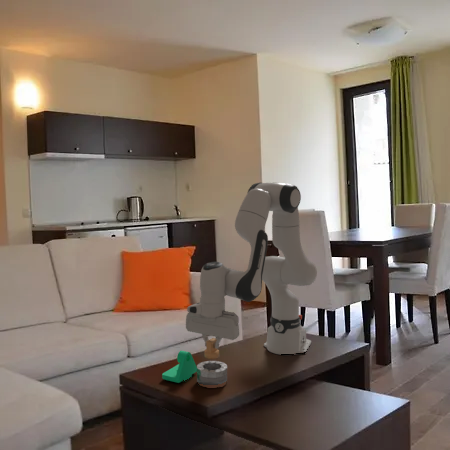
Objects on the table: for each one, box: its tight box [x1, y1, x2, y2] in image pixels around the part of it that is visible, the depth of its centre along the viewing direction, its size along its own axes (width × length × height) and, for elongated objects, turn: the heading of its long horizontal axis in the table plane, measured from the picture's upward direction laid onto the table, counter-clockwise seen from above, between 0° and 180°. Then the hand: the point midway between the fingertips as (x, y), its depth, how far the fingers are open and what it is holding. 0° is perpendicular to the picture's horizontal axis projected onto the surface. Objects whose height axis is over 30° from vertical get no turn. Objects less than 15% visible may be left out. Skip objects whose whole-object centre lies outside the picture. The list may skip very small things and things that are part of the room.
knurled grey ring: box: [196, 360, 228, 385], centre depth 193 cm, size 11×11×6 cm
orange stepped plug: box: [203, 337, 220, 360], centre depth 192 cm, size 5×5×6 cm
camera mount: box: [161, 350, 197, 384], centre depth 197 cm, size 12×8×10 cm, turn 151°
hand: (211, 347), depth 192 cm, fingers closed on orange stepped plug
